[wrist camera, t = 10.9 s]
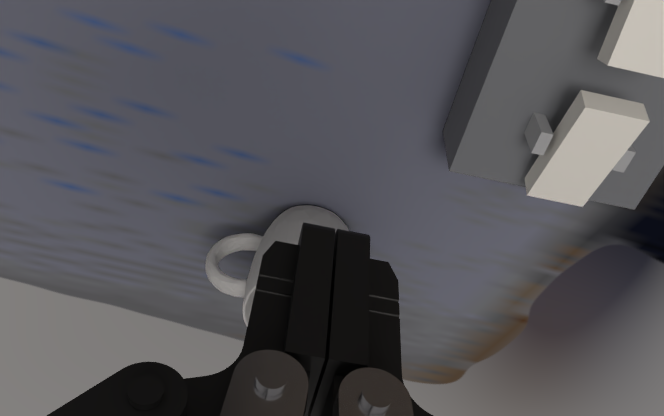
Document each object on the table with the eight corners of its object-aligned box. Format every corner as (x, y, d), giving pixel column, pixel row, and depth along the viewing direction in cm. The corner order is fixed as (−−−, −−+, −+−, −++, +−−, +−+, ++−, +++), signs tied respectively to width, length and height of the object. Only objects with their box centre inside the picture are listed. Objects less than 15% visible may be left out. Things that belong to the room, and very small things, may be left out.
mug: (366, 198, 53) (365, 282, 45) (353, 274, 59) (350, 360, 51) (217, 181, 53) (190, 262, 45) (219, 258, 58) (194, 342, 51)
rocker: (580, 89, 37) (585, 107, 36) (643, 103, 38) (649, 121, 37) (524, 178, 43) (526, 195, 42) (578, 189, 44) (582, 206, 43)
